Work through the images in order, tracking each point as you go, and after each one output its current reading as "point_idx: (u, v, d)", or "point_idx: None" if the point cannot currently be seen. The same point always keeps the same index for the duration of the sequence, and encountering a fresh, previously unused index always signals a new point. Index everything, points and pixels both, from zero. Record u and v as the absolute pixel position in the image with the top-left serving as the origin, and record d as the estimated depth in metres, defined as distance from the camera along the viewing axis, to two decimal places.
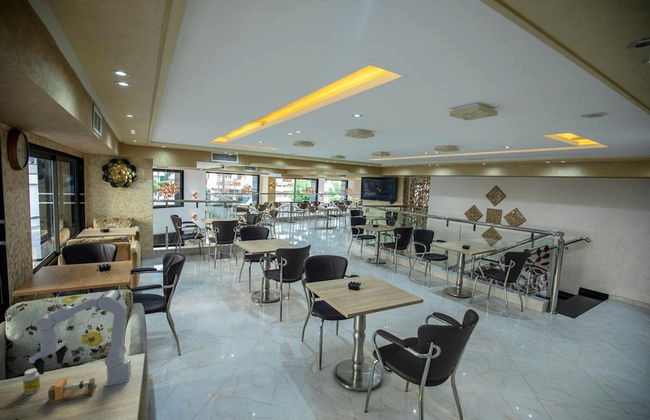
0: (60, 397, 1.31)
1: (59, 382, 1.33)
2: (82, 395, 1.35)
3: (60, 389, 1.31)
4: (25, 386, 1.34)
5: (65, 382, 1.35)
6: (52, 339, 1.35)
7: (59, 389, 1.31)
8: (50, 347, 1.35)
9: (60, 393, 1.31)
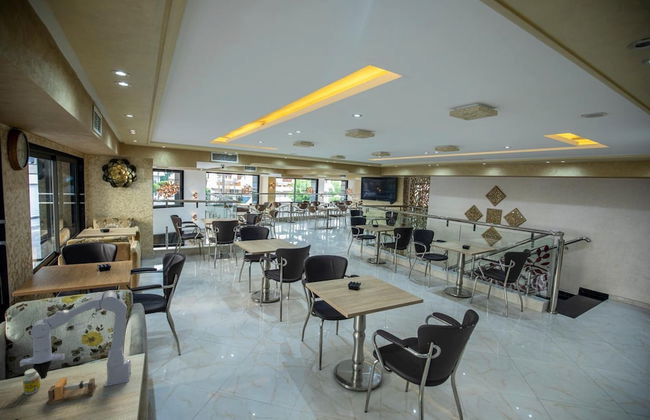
0: (60, 397, 1.31)
1: (59, 382, 1.33)
2: (82, 395, 1.35)
3: (60, 389, 1.31)
4: (25, 386, 1.34)
5: (65, 382, 1.35)
6: (48, 346, 1.29)
7: (59, 389, 1.31)
8: (36, 357, 1.27)
9: (60, 393, 1.31)
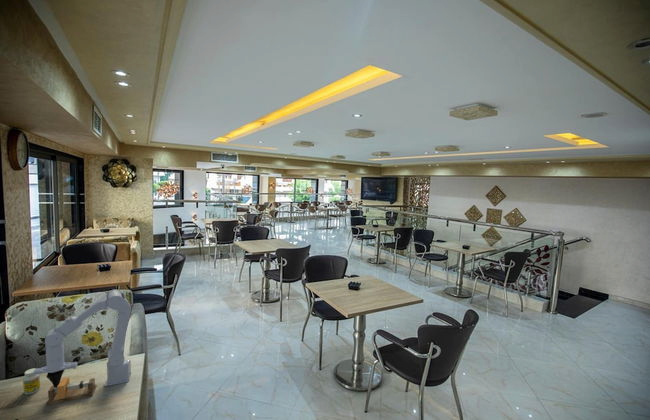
0: (63, 396, 1.32)
1: (62, 381, 1.34)
2: (82, 395, 1.35)
3: (63, 388, 1.31)
4: (25, 386, 1.34)
5: (68, 382, 1.36)
6: (61, 355, 1.31)
7: (62, 389, 1.31)
8: (49, 366, 1.29)
9: (63, 392, 1.32)
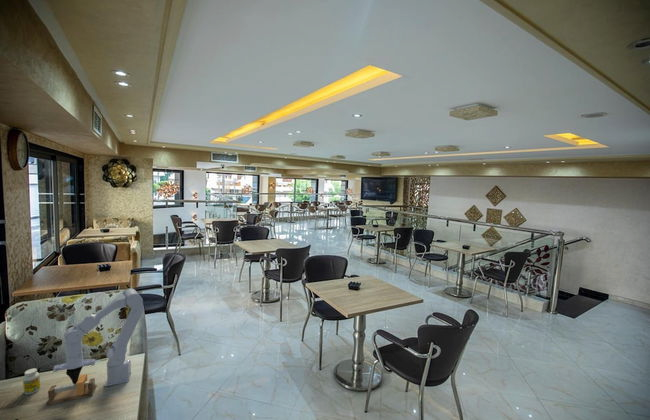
0: (81, 393, 1.34)
1: (80, 378, 1.36)
2: (82, 395, 1.35)
3: (81, 385, 1.34)
4: (25, 386, 1.34)
5: (86, 378, 1.38)
6: (80, 351, 1.34)
7: (81, 385, 1.34)
8: (69, 363, 1.31)
9: (81, 389, 1.34)
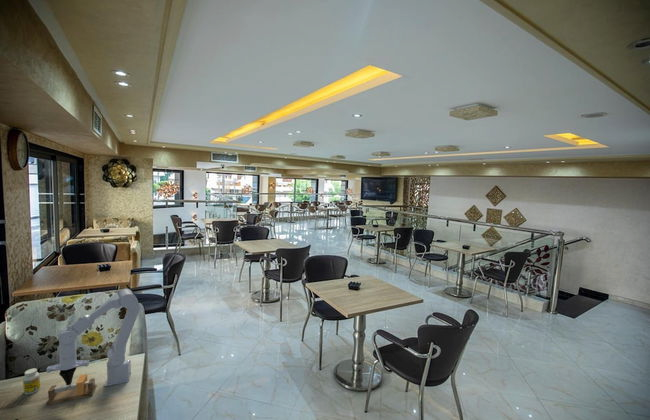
0: (81, 393, 1.34)
1: (80, 378, 1.36)
2: (82, 395, 1.35)
3: (81, 385, 1.34)
4: (25, 386, 1.34)
5: (86, 378, 1.38)
6: (74, 352, 1.33)
7: (81, 385, 1.34)
8: (62, 363, 1.30)
9: (81, 389, 1.34)
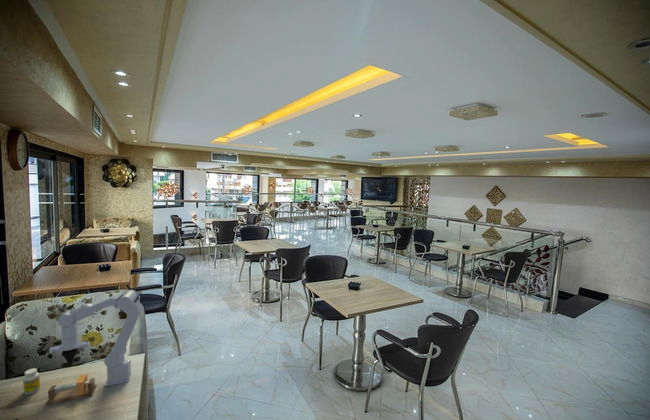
0: (81, 393, 1.34)
1: (80, 378, 1.36)
2: (82, 395, 1.35)
3: (81, 385, 1.34)
4: (25, 386, 1.34)
5: (86, 378, 1.38)
6: (72, 335, 1.38)
7: (81, 385, 1.34)
8: (64, 344, 1.37)
9: (81, 389, 1.34)
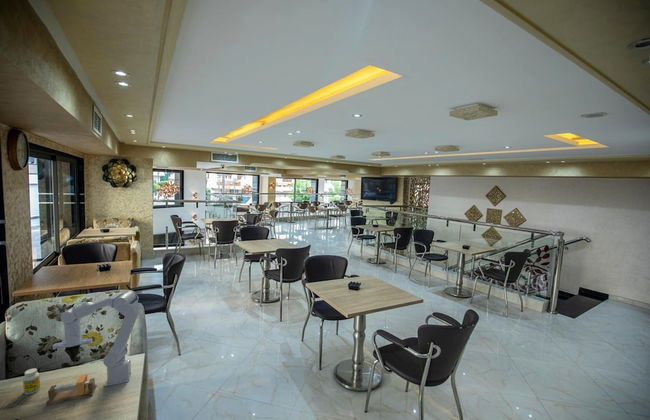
0: (81, 393, 1.34)
1: (80, 378, 1.36)
2: (82, 395, 1.35)
3: (81, 385, 1.34)
4: (25, 386, 1.34)
5: (86, 378, 1.38)
6: (74, 332, 1.41)
7: (81, 385, 1.34)
8: (67, 341, 1.40)
9: (81, 389, 1.34)
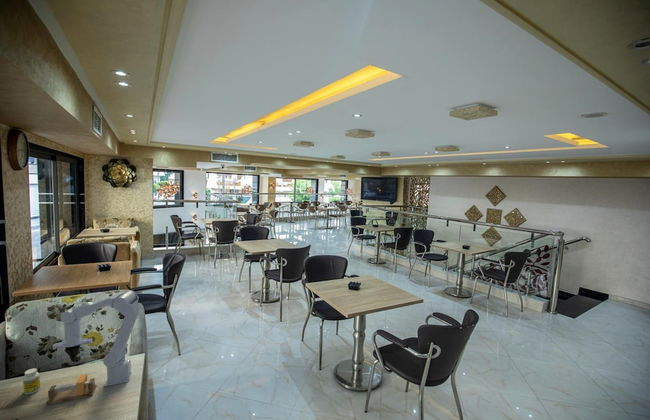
0: (81, 393, 1.34)
1: (80, 378, 1.36)
2: (82, 395, 1.35)
3: (81, 385, 1.34)
4: (25, 386, 1.34)
5: (86, 378, 1.38)
6: (74, 332, 1.41)
7: (81, 385, 1.34)
8: (67, 341, 1.40)
9: (81, 389, 1.34)
